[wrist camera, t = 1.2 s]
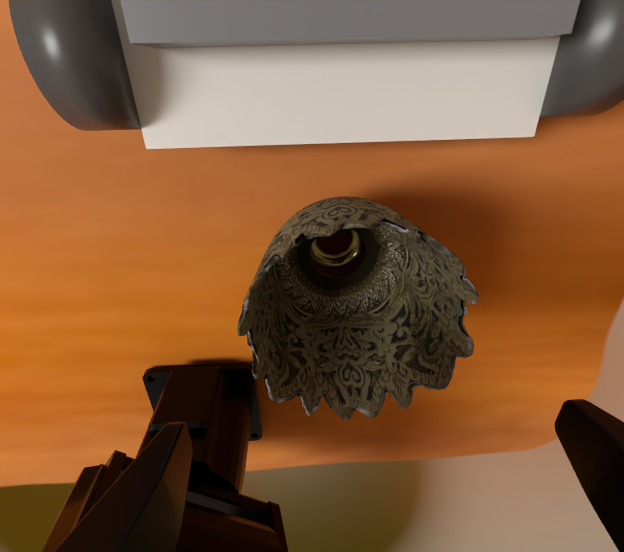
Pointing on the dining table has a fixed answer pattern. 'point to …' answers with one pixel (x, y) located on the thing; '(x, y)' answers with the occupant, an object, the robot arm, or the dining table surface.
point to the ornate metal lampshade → (355, 310)
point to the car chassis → (321, 67)
